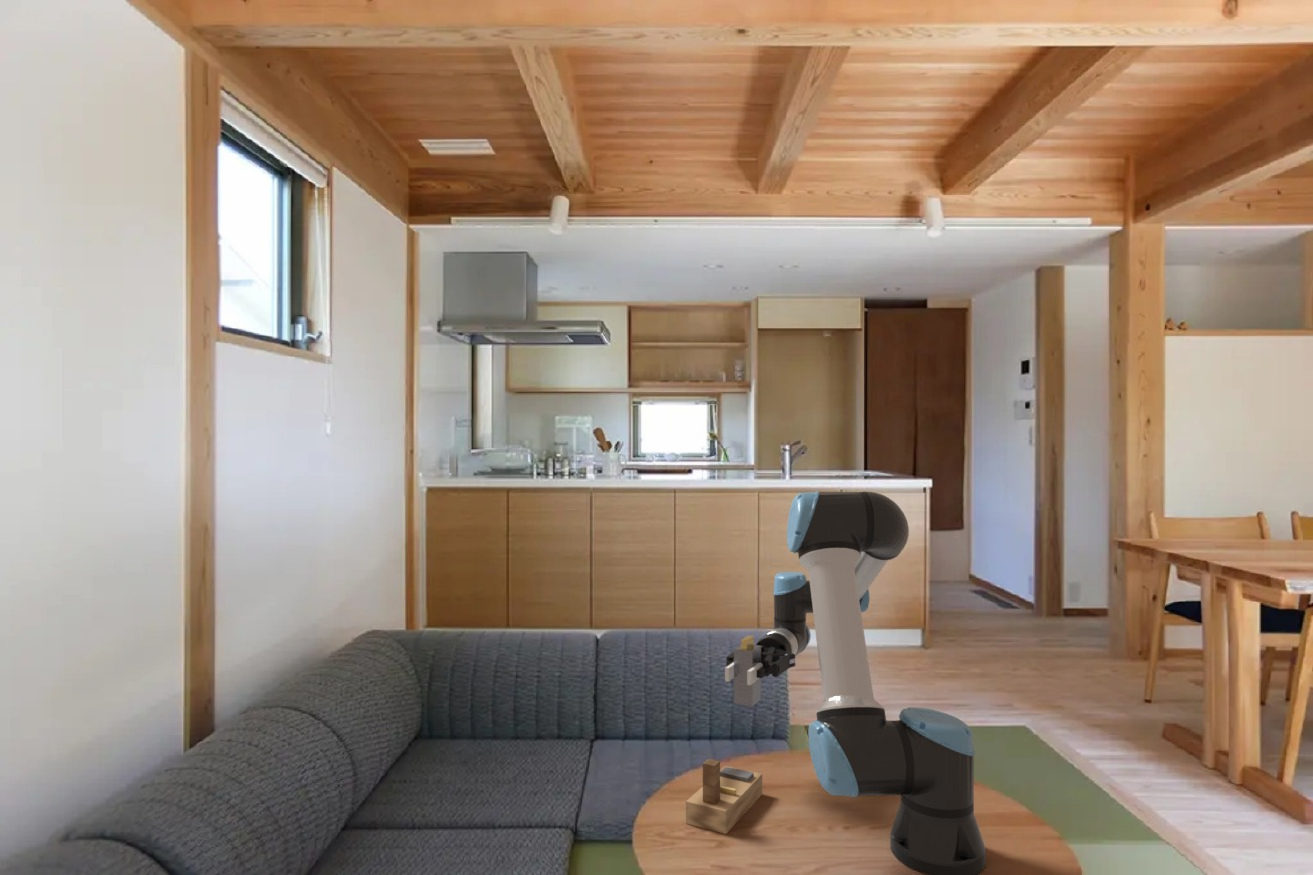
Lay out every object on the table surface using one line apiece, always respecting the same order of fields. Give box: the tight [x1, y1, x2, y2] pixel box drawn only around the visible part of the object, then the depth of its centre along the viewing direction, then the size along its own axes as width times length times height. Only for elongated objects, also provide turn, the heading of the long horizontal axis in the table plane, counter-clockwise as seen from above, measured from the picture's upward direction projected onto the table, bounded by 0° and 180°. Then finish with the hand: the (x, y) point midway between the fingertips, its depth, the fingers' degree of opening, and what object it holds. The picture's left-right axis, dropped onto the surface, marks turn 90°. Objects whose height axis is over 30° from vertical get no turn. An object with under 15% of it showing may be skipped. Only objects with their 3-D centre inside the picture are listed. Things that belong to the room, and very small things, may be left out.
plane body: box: [685, 758, 763, 835], centre depth 145 cm, size 8×18×11 cm, turn 151°
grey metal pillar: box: [733, 634, 762, 707], centre depth 155 cm, size 4×5×13 cm
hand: (737, 676), depth 151 cm, fingers closed on grey metal pillar, 4 cm apart
